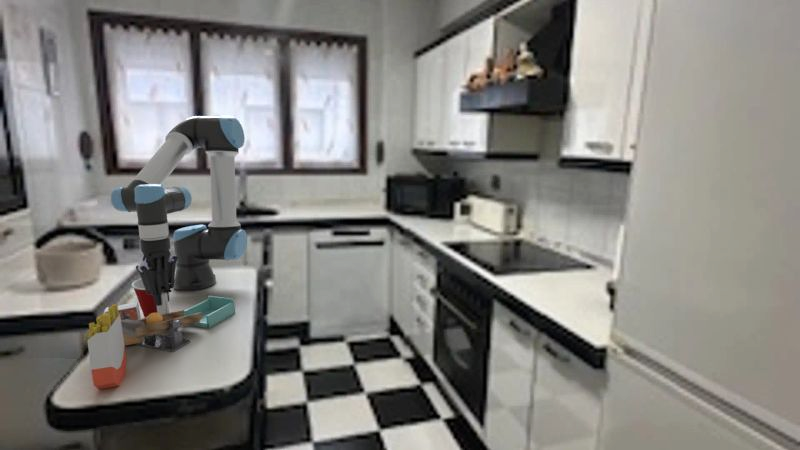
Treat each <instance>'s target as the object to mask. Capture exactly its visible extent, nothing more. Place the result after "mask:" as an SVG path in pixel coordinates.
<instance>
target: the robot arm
mask: <svg viewBox="0 0 800 450" xmlns="http://www.w3.org/2000/svg"><path fill="white" fill-rule="evenodd" d="M245 139H246V138H245V132H244V129H243V125H242V124H241V123H240V121H239V120H238V119H237V118H236V117H235V116H232V115H206V116H205V115H202V116H201V115H198V116H197V115H195V116H191V117H189V118H186V119H184V120H183V121H181V122H179V123H178V124H176V125H175V126H174V127H173V128H172V129H171V130H170V131H169V132H168V133H167V134H166V136H165V141H164V143H163V144H162V145H161V146H160V147H159V148H158V150H157V151H156V152H155V153H154V154H153V156H152V157H151V158H150V159H149V161H148V162H147V163H145V165H144V166H143V168H142V169H141V170H140V171H139V172H138V174H137V175H136V176H135V177H134V178H133V180H132V181H131V182H130V183H129V184H128V185H127V186H126V187H125V186H121V187H116V188H115V189H114V190H112V192H111V195H110V203H111V205H112V206H113V208H114V209H115V210H116V211H119V212H127V213H136V216H137V226H138V233H139V238H140V241H139V243H140V251H141V253H142V254H143V256H142V262H141V264H140V265H136V266H135V269H136V271H137V272H138V273H139V276H140V279H142V281H143V284H144V287H145V290H146V293H147V294H148V295H153V296H154V302H155V305H156V306H157V313H159V314H161V315H162V314H166V313H170V307H169V306H170V305H169V302H170V294H169V293H171V292H172V289H173V288H174V289H175V290H177V291H181V292H182V291H184V292H185V291H187V292H189V291H190V292H191V291H199V290H203V289H206V288H209V287H212V286H214V285H216V283H217V277H216V275H215V273H214V270H213V267H212V266H211V263H210V260H213V261H215V260H216V261H217V260H218V261H236V260H239V259H241V258H242V257H243V256H244V254H245V252H246V250H247V247H248V235H247V232H246V230H244V229H242V227H241V226H242V225H241V223H240V222H239V221H238V220H237V199H236V198H237V197H236V195H237V194H236V193H237V192H236V190H237V189H236V169H235V168H236V167H235V166H236V165H235V163H236V162H235V158H236V156H237V155H238V154H239V151H240V150H239V149H241V148H242V147H244V144H245ZM201 148H202V149H204V151H205V153H206V155H207V156H209V168H210V169H209V170H210V173H209V174H210V194H211V196H210V197H211V198H210V199H211V200H210V201H211V222H209V224H208V225H206V224H196V225H189V226H185V227H181V228H178V229H176V230H174V232H173V235H172V237H173V245H174V254H175V255H173V254H171V251H170V249H171V240H170V237H169V235H170V230H169V223H168V222H169V221H168V214H173V213H177V212H182V211H183V210H186V209H188V208H189V207H190V206H191V204H192V199H193V198H192V194H191V193H190V191H189V190H188V189H187V188H185V187H183V186H172V187H164V185H163V184H164V183H165V182H166V181H167V179H168V178H169V177H170V175H171V174H172V173H173V171H174V170H175V169H176V168H177V166H178V165H179V163H180V162H181V161H182V160H183V158H184V157H185V156H186V155H189V154H191V153H192V151H194V150H195V149H201ZM169 283H170V284H169Z"/></svg>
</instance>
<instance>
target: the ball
mask: <svg viewBox="0 0 800 450" xmlns="http://www.w3.org/2000/svg"><path fill="white" fill-rule="evenodd" d="M162 321H163V317H162V315H161V314H159V313H151V314H149V315H148V316H147V318H146V323H147V325H150V324H154V323H158V322H162Z"/></svg>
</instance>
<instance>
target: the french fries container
mask: <svg viewBox="0 0 800 450" xmlns="http://www.w3.org/2000/svg"><path fill="white" fill-rule="evenodd" d="M118 306H119V304H118V303H113V304H111V306H108V307H109V308H108V310H109V311H107V312H105V313H104V312H103V313H104V314H103V313H102V314H101V315H98V316H97V317H96V319H95V320H96V323H95V322H90V323H88V328H89V332H88V333H87V337H88V340H87V347H88V355H89V362H90V369H91V372H90V373H91V377H92V383H93V386H94V387H95V389H98V390H103V389H109V388H115V387H120V385H121V384H122V382H123V380H124V378H125V376H126V371H127V352H126V345H124V338H123V331H122V324H121V318H120V313H119V314H118Z"/></svg>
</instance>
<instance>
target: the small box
mask: <svg viewBox="0 0 800 450" xmlns="http://www.w3.org/2000/svg"><path fill="white" fill-rule="evenodd" d="M109 307H110V306H108V307H105V309H104V311H103V313H102V314H104V313H105V312H107V311H109V310H108V308H109ZM140 310H141V309H140V304H139V301H133V302H130V303H125V304H118V314H119V313H120V318H121V320H125V319H129V320H139V319H142V317H141V311H140ZM143 340H144V338H140V339H136V340H133V339H128V338H124V345H125V346H130V345H134V344H136V345H137V343H141V342H143Z"/></svg>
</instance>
